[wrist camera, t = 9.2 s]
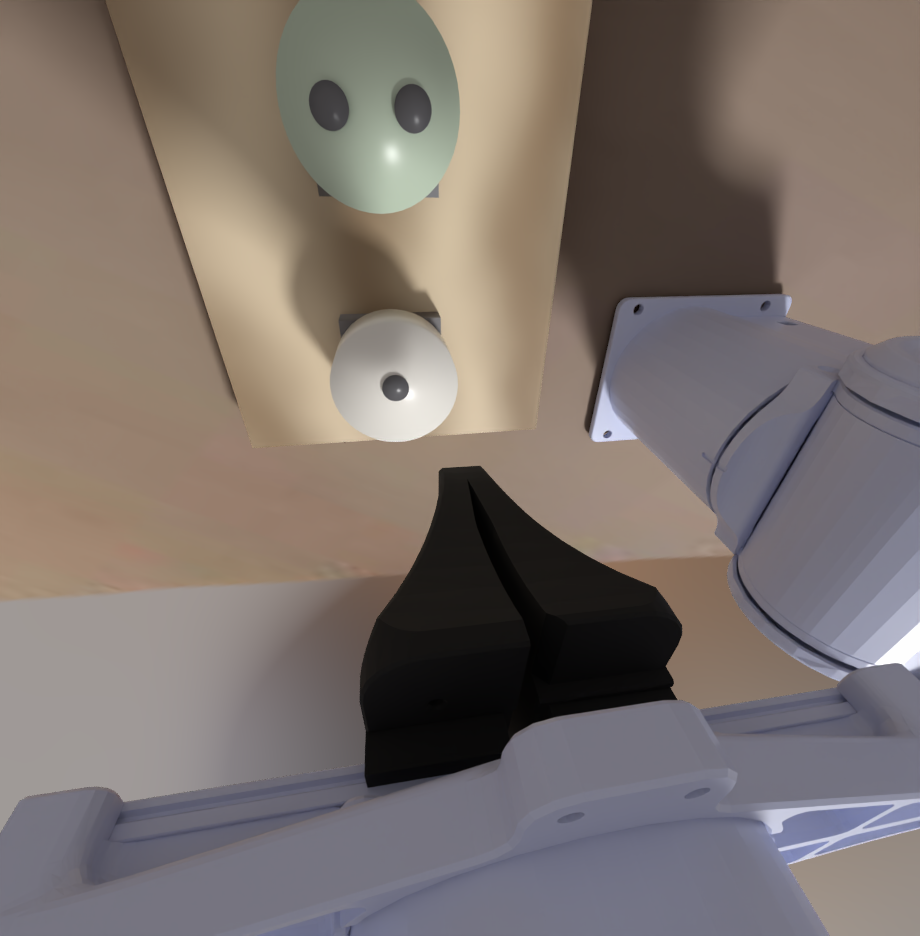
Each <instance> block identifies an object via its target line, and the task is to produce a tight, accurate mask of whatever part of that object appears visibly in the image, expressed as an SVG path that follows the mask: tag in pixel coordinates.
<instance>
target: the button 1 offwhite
mask: <svg viewBox="0 0 920 936" xmlns="http://www.w3.org/2000/svg"><path fill="white" fill-rule="evenodd" d="M330 389H331V394H332V398H333V401H334V403H335V405H336V407H337V409H338V411H339V413H340V414H341V415H342V417H343V418H344V419H345V420H346V421H347V422H348V423H349V424H350V425H351V426H352V427H354V428H355V429H356V430H358V431H359V432H361V433H362V434H365V435H367V436H369V437H371V438H374V439H377V440H382V441H389V442H403V441H409V440H413V439H417V438H419V437H422V436H424V435H426V434H428V433H430V432H431V431H433V430H434V429H436V428H437V427H438V426H439V425H440V424H441V423H442V422H443V421H444V420H445V419H446V417H447V416H448V415H449V413H450V411H451V410H452V408H453V405H454V403H455V400H456V396H457V390H458V377H457V372H456V368H455V365H454V362H453V359H452V357H451V355H450V352H449V350H448V347H447V345H446V343H445V341H444V339H443V337H442V336H441V334H440V333H439V332H438V330H437V329H436V328H435V327H434V326H433V325H432V324H431V323H429V322H428V321H427V320H425V319H424V318H422V317H421V316H418V315H416V314H414V313H411V312H408V311H405V310H399V309H383V310H378V311H374V312H371V313H368V314H366V315H364V316H362V317H361V318H359V319H358V320H356V321H355V322H354V323H352V324H351V326H350V327H349V328H348V329H347V330H346V331H345V333H344V334H343V336H342V338H341V340H340V342H339V344H338V347H337V350H336V354H335V357H334V360H333V364H332V367H331V373H330Z"/></svg>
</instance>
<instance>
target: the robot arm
mask: <svg viewBox="0 0 920 936" xmlns="http://www.w3.org/2000/svg"><path fill="white" fill-rule="evenodd" d="M764 302H765V303H764ZM791 302H792V299H791V297H790V296H789V295H785V294H753V295H712V296H670V297H629V298H624V299H623V300H621V301H620V302H619V303H618V305H617V307H616V311H615V316H614V320H613V325H612V329H611V334H610V339H609V343H608V348H607V352H606V357H605V362H604V366H603V371H602V375H601V380H600V384H599V389H598V394H597V398H596V403H595V407H594V412H593V417H592V421H591V426H590V430H589V436H590V438H591V439H592V440H593V441H594V442H603V441H617V440H630V439H639V440H640V441H641V442H642V443H643V444H644V445H645V446H646V447H647V448H648V449H649V450H650V451H651V452H653V453H654V454H655V455H656V456H657V457H658V458H659V459H660V460H661V461H662V462H663V463H664V464H665V465H666V466H667V467H668V468H669V469H670V470H671V471H672V472H673V473H674V474H675V475H676V476H677V477H678V478H679V479H680V480H681V481H682V482H683V483H684V484H685V485H686V486H687V487H688V488H689V489H690V490H691V491H692V492H693V493H694V494H696V495H697V496H698V497H699V498H700V499H701V500H702V501H703V502H704V503H705V504H706V505H707V506H708V507H709V508H710V509H711V510H712V511H713V512H714V513H715V514H716V516H717V518H718V524H717V528H716V530H715V535H716V536H717V537H718V538H719V539H720V540H721V541H722V542H723V543H724V544H725V545H726V546H727V547H728V548H729V549H730V551H731V552H732V553H733V554H735V555H734V556H733V557H732V559H731V561H730V563H729V565H728V572H727V579H728V585H729V588H730V590H731V593H732V596H733V597H734V599H735V601H736V603H737V604H738V606H739V608H740V609H741V610H742V611H743V613H744V614H745V615H746V617H747V618H748V619H749V620H750V621H751V622H752V623H753V625H754V626H755V627H756V628H757V629H758V630H759V631H760V632H761V633H762V634H764V635H765V636H766V637H767V638H768V639H769V640H770V641H772V642H773V643H774V644H775V645H776V646H778V647H779V648H780V649H782V650H784V651H785V652H786V653H787V654H789V655H790V656H792V657H793V658H795V659H797V660H798V661H800V662H801V663H803V664H805V665H806V666H808V667H810V668H812V669H814V670H816V671H818V672H820V673H822V674H824V675H826V676H828V677H830V678H832V679H835V680H837V681H840V682H839V683H838V684H837V687H836V688H830V689H824V690H818V691H811V692H805V693H799V694H793V695H787V696H780V697H774V698H768V699H762V700H756V701H749V702H744V703H737V704H731V705H724V706H718V707H712V708H706V709H700V710H699V709H698V708H696V707H695V706H693V705H692V704H690V703H688V702H686V701H683V700H677V698H676V697H675V695H674V693H673V692H672V690H671V688H670V687H672V686H673V684H674V681H673V678H672V677H671V675H670V673H669V671H668V670H667V668H666V665H667V663H668V661H669V659H670V658H671V656H672V654H673V652H674V651H675V649H676V647H677V646H678V643H679V641H680V638H681V636H682V624H681V623H680V621H679V620H678V619H677V617H676V616H675V614H674V612H673V611H672V609H671V608H670V606H669V605H668V603H667V602H666V600H665V599H664V598H663V596H662V595H661V594H660V593H659V592H658V590H657V589H656V587H653V586H651V585H649V584H646V583H644V582H641V581H639V580H637V579H634V578H631V577H629V576H627V575H625V574H622V573H620V572H618V571H616V570H614V569H612V568H609V567H608V566H606V565H604V564H602V563H600V562H598V561H596V560H594V559H592V558H590V557H588V556H587V555H585V554H583V553H581V552H580V551H578V550H576V549H575V548H573V547H571V546H570V545H568V544H567V543H565V542H564V541H562V540H560V539H559V538H557V537H556V536H555V535H553V534H552V533H551V532H549V531H548V530H546V529H545V528H544V527H542V526H541V525H540V524H539V523H537V522H536V521H535V520H534V519H532V518H531V517H530V516H529V515H528V514H527V513H525V512H524V511H523V510H522V509H521V508H520V507H519V506H518V505H517V504H516V503H515V502H514V501H513V500H512V499H511V498H510V497H509V496H508V495H507V494H506V493H505V492H504V491H503V490H502V489H501V488H500V487H499V486H498V485H497V484H496V483H495V481H494V480H493V479H492V478H491V477H490V476H489V475H488V474H487V472H486V471H485V470H484V469H483V468H482V467H481V466H470V467H453V468H442V469H441V470H440V471H439V496H438V501H437V506H436V510H435V513H434V517H433V520H432V523H431V526H430V529H429V532H428V534H427V537H426V539H425V542H424V544H423V546H422V548H421V551H420V553H419V555H418V556H417V558H416V560H415V562H414V564H413V566H412V568H411V570H410V572H409V573H408V575H407V576H406V578H405V580H404V581H403V583H402V584H401V586H400V588H399V589H398V591H397V593H396V594H395V595H394V596H393V598H392V599H391V600H390V602H389V603H388V604H387V606H386V607H385V608H384V610H383V611H382V612H381V614H380V615H379V616H378V618H377V619H376V622H375V625H374V627H373V630H372V633H371V635H370V638H369V641H368V644H367V648H366V651H365V655H364V658H363V663H362V668H361V675H360V705H361V710H362V715H363V719H364V724H365V729H366V744H365V763H364V764H358V765H352V766H346V767H339V768H333V769H327V770H321V771H314V772H308V773H302V774H296V775H290V776H283V777H277V778H271V779H265V780H259V781H253V782H246V783H240V784H234V785H227V786H222V787H215V788H209V789H203V790H196V791H190V792H184V793H178V794H172V795H165V796H159V797H153V798H147V799H140V800H134V801H128V802H123V801H122V799H121V798H120V796H119V795H118V794H117V793H116V792H115V791H113V790H111V789H108V788H103V787H86V788H80V789H73V790H67V791H60V792H54V793H47V794H40V795H34V796H28V797H26V798H24V799H22V800H20V801H19V803H18V805H17V806H16V808H15V809H14V811H13V813H12V815H11V816H10V818H9V819H8V821H7V823H6V824H5V826H4V828H3V830H2V831H1V833H0V936H830V935H829V934H828V932H827V930H826V929H825V927H824V925H823V923H822V922H821V920H820V918H819V917H818V915H817V913H816V912H815V910H814V908H813V907H812V905H811V903H810V902H809V900H808V898H807V897H806V895H805V893H804V892H803V890H802V888H801V887H800V885H799V883H798V881H797V880H796V878H795V876H794V875H793V873H792V871H791V870H790V868H789V866H788V865H789V864H792V863H796V862H799V861H802V860H806V859H810V858H813V857H817V856H820V855H823V854H827V853H830V852H833V851H837V850H841V849H844V848H848V847H851V846H855V845H859V844H862V843H866V842H869V841H873V840H877V839H881V838H884V837H888V836H892V835H896V834H900V833H904V832H908V831H912V830H916V829H920V336H904V337H896V338H892V339H889V340H886V341H883V342H881V343H878V344H876V345H873V344H869V343H866V342H863V341H860V340H857V339H854V338H850V337H847V336H844V335H841V334H838V333H835V332H831V331H828V330H825V329H822V328H819V327H816V326H812V325H809V324H806V323H803V322H800V321H797V320H793V319H790V318H787V317H786V314H787V312H788V310H789V308H790V306H791ZM763 303H764V305H763V307H762V308H761V305H762V304H763ZM638 304H639V305H640V306H639V310H638V311H637V312H636V313H633V310H634V308H635V306H636V305H638ZM608 430H609V431H608ZM606 431H608V433H607V434H605V435H603V434H604V433H605V432H606Z"/></svg>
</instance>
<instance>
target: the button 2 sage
mask: <svg viewBox="0 0 920 936" xmlns="http://www.w3.org/2000/svg"><path fill="white" fill-rule="evenodd" d="M276 91H277V99H278V106H279V110H280V114H281V119H282V122H283V125H284V128H285V131H286V134H287V137H288V139H289V141H290V143H291V145H292V148H293V150H294V152H295V153H296V155H297V157H298V159H299V160H300V162H301V164H302V165H303V166H304V168H305V169H306V171H307V172H308V173H309V175H310V176H311V177H312V178H313V179H314V180H315V181H316V183H317V184H318V185H319V186H320V187H322V188H323V189H324V190H325V191H326V192H327V193H328V194H330V195H331V196H332V197H334V198H335V199H337V200H338V201H340V202H342V203H343V204H345V205H347V206H349V207H352V208H354V209H357V210H359V211H364V212H368V213H376V214H386V213H394V212H398V211H402V210H405V209H407V208H410V207H412V206H413V205H415V204H417V203H418V202H420V201H421V200H423V199H424V198H425V197H426V196H427V195H429V194H430V192H431V191H432V190H433V189H434V188H435V187H436V186H437V184H438V183H439V182H440V180H441V179H442V177H443V176H444V174H445V172H446V170H447V168H448V166H449V164H450V161H451V159H452V156H453V154H454V150H455V146H456V143H457V138H458V131H459V122H460V98H459V90H458V83H457V78H456V73H455V69H454V65H453V62H452V59H451V56H450V54H449V51H448V48H447V46H446V44H445V42H444V40H443V38H442V35H441V34H440V32H439V30H438V29H437V27H436V25H435V24H434V22H433V20H432V19H431V18H430V16H429V15H428V14H427V13H426V11H425V10H424V9H423V8H422V7H421V5H420V4H419V3H418V2H417V1H416V0H299V2H298V3H297V5H296V6H295V8H294V9H293V10H292V12H291V14H290V16H289V18H288V20H287V22H286V24H285V27H284V30H283V33H282V36H281V39H280V43H279V48H278V53H277V62H276Z"/></svg>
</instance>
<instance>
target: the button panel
mask: <svg viewBox="0 0 920 936" xmlns="http://www.w3.org/2000/svg"><path fill="white" fill-rule="evenodd" d="M416 1H417V2H418V3H419V4H420V5H421V7H422V8H423V9H424V10H425V11H426V13H427V14H428V15H429V16H430V18H431V19H432V20H433V22H434V24H435V25H436V27H437V29H438V30H439V32H440V34H441V35H442V38H443V40H444V42H445V44H446V46H447V48H448V51H449V54H450V56H451V59H452V62H453V65H454V69H455V73H456V78H457V83H458V90H459V98H460V122H459V131H458V138H457V143H456V146H455V150H454V154H453V156H452V159H451V161H450V164H449V166H448V168H447V170H446V172H445V174H444V176H443V177H442V179H441V180H440V182H439V183H438V184H437V186H436V187H435V188H434V189H433V190H432V191H431V192H430V194H429V195H427V196H426V197H425V198H424V199H423V200H421V201H420V202H418V203H417V204H415V205H413V206H412V207H410V208H407V209H405V210H402V211H398V212H394V213H386V214H376V213H368V212H364V211H359V210H357V209H354V208H352V207H349V206H347V205H345V204H343V203H342V202H340V201H338V200H337V199H335V198H334V197H332V196H331V195H330V194H328V193H327V192H326V191H325V190H324V189H323V188H322V187H320V186H319V185H318V184H317V183H316V181H315V180H314V179H313V178H312V177H311V176H310V175H309V173H308V172H307V171H306V169H305V168H304V166H303V165H302V164H301V162H300V160H299V159H298V157H297V155H296V153H295V152H294V150H293V148H292V145H291V143H290V141H289V139H288V137H287V134H286V131H285V128H284V125H283V122H282V119H281V114H280V110H279V106H278V99H277V91H276V62H277V53H278V48H279V43H280V39H281V36H282V33H283V30H284V27H285V24H286V22H287V20H288V18H289V16H290V14H291V12H292V10H293V9H294V8H295V6H296V5H297V3H298V2H299V0H105V2H106V5H107V8H108V11H109V14H110V17H111V20H112V23H113V26H114V29H115V32H116V35H117V38H118V41H119V44H120V47H121V50H122V53H123V56H124V59H125V62H126V65H127V69H128V72H129V75H130V78H131V81H132V84H133V87H134V90H135V93H136V96H137V99H138V102H139V105H140V108H141V111H142V114H143V117H144V120H145V123H146V126H147V129H148V132H149V135H150V138H151V141H152V145H153V148H154V151H155V154H156V157H157V160H158V163H159V166H160V169H161V172H162V175H163V178H164V181H165V184H166V187H167V190H168V193H169V196H170V199H171V202H172V205H173V208H174V211H175V214H176V217H177V220H178V224H179V227H180V230H181V233H182V236H183V239H184V242H185V245H186V248H187V251H188V254H189V257H190V260H191V263H192V266H193V269H194V272H195V275H196V278H197V281H198V284H199V287H200V290H201V293H202V296H203V300H204V303H205V306H206V309H207V312H208V315H209V318H210V321H211V324H212V327H213V330H214V333H215V336H216V339H217V342H218V345H219V348H220V351H221V354H222V357H223V360H224V363H225V366H226V369H227V372H228V376H229V379H230V382H231V385H232V388H233V391H234V394H235V397H236V400H237V403H238V406H239V409H240V412H241V415H242V418H243V421H244V424H245V427H246V430H247V433H248V436H249V439H250V442H251V445H252V448H264V447H278V446H293V445H308V444H322V443H337V442H352V441H367V440H377V439H374V438H371V437H369V436H367V435H365V434H362V433H361V432H359V431H358V430H356V429H355V428H354V427H352V426H351V425H350V424H349V423H348V422H347V421H346V420H345V419H344V418H343V417H342V415H341V414H340V413H339V411H338V409H337V407H336V405H335V403H334V401H333V398H332V394H331V389H330V373H331V367H332V364H333V360H334V357H335V354H336V350H337V347H338V344H339V342H340V340H341V338H342V336H343V334H344V333H345V331H346V330H347V329H348V328H349V327H350V326H351V324H352V323H354V322H355V321H356V320H358V319H359V318H361V317H362V316H364V315H366V314H368V313H371V312H374V311H378V310H383V309H399V310H405V311H408V312H411V313H414V314H416V315H418V316H421V317H422V318H424V319H425V320H427V321H428V322H429V323H431V324H432V325H433V326H434V327H435V328H436V329H437V330H438V332H439V333H440V334H441V336H442V337H443V339H444V341H445V343H446V345H447V347H448V350H449V352H450V355H451V357H452V359H453V362H454V365H455V368H456V372H457V377H458V390H457V396H456V400H455V403H454V405H453V408H452V410H451V411H450V413H449V415H448V416H447V417H446V419H445V420H444V421H443V422H442V423H441V424H440V425H439V426H438V427H437V428H436V429H434V430H433V431H431V432H430V433H428V434H426V435H424V436H422V437H426V436H440V435H455V434H470V433H484V432H499V431H514V430H529V429H536V424H537V416H538V409H539V401H540V393H541V386H542V378H543V371H544V363H545V356H546V348H547V341H548V333H549V325H550V318H551V310H552V303H553V295H554V288H555V280H556V273H557V265H558V257H559V250H560V242H561V235H562V227H563V220H564V212H565V205H566V197H567V189H568V182H569V174H570V167H571V159H572V152H573V144H574V136H575V129H576V121H577V114H578V106H579V99H580V91H581V84H582V76H583V68H584V61H585V53H586V46H587V38H588V31H589V23H590V16H591V8H592V0H416Z"/></svg>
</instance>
